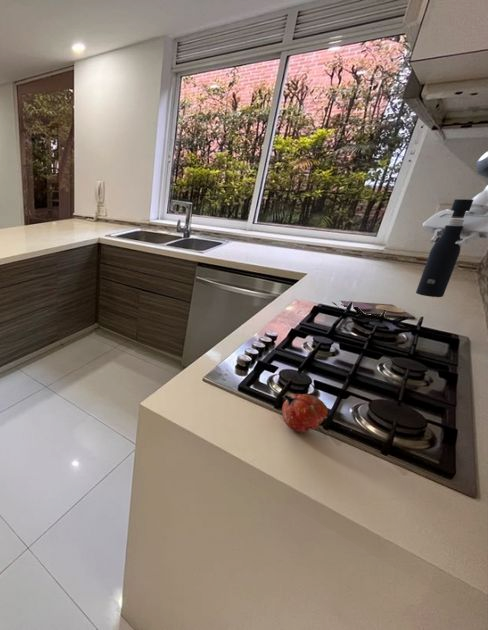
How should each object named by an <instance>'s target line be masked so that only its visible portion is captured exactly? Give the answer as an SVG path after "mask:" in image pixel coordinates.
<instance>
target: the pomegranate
mask: <svg viewBox="0 0 488 630" xmlns="http://www.w3.org/2000/svg"><path fill="white" fill-rule="evenodd" d="M281 398H282V399H283V398H284V399H286V400H285V401H284V402H283V403H282V407H281V411H282V413H281V415H282V420H283V421H284V423H285V425H286V426H287V427H288V428H289V429H291V430H293V431H294V432H296V433H300V434H301V433H302V434H306V433H307V432H308V431H309V430H315V429H318V430H319V431H320V432H321V433H322V434H324V435H325V436H327V433H326V432H324V431H323V429H322V428H321V427H320V425H321V424H322V423H323V422H324V421H325V419H326V417H327V415H328V414H329V409H328V407H327V404H326V403H325V402H324V401H323V400H321V399H320V398H318V397H317V396H315V395H311V394H308V393H303V394H301V393H295V394H294V395H292V396H289V395H287V394H284V395H283V396H282V397H281Z"/></svg>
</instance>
